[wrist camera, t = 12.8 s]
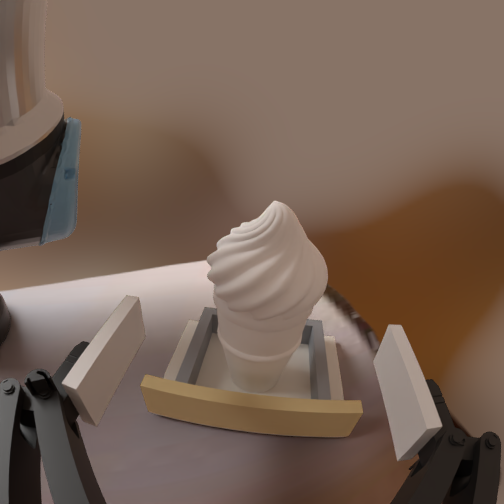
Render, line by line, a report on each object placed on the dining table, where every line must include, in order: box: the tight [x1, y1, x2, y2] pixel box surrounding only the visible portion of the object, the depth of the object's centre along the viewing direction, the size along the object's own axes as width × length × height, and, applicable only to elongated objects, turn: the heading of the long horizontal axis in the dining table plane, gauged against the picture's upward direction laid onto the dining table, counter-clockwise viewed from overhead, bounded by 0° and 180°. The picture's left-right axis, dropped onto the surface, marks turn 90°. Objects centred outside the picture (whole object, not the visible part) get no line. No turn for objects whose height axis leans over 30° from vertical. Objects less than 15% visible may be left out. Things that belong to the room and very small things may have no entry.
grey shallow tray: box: [140, 307, 363, 437], centre depth 25 cm, size 13×16×4 cm
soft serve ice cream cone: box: [207, 201, 328, 393], centre depth 22 cm, size 8×8×16 cm
